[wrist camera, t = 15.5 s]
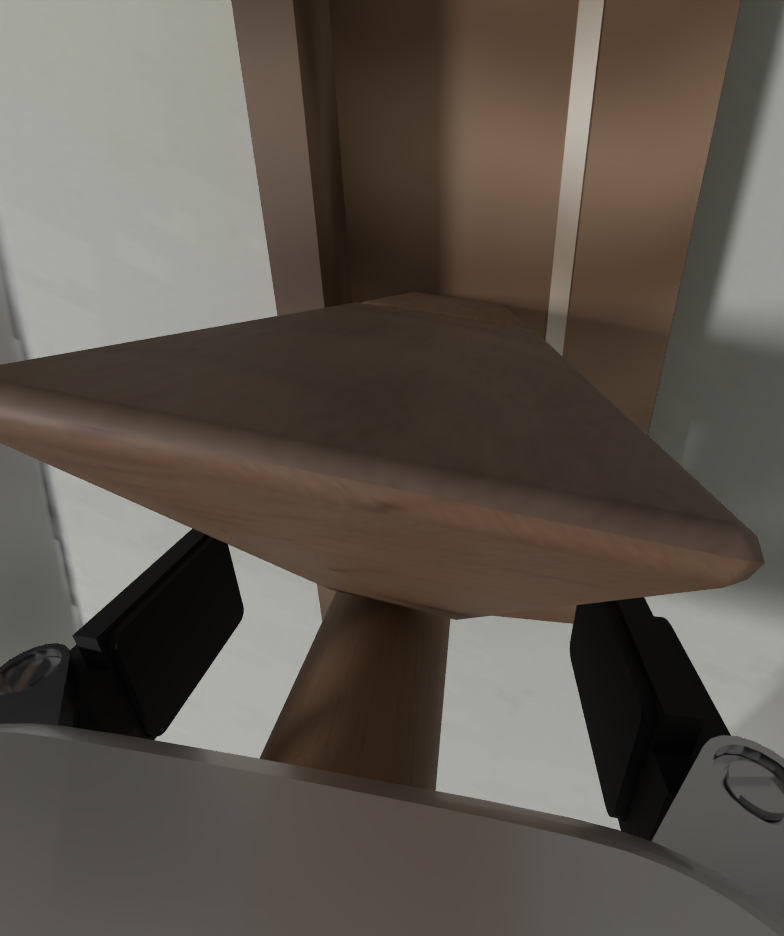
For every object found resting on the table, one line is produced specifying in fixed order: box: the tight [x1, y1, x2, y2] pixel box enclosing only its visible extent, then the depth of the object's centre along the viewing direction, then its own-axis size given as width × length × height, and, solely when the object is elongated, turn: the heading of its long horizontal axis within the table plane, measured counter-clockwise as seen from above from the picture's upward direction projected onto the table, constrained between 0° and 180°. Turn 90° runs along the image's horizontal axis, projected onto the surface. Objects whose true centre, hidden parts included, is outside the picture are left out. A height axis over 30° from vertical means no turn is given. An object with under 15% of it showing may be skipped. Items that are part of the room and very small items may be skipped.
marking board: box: [231, 0, 741, 623], centre depth 13 cm, size 30×12×4 cm, turn 2°
